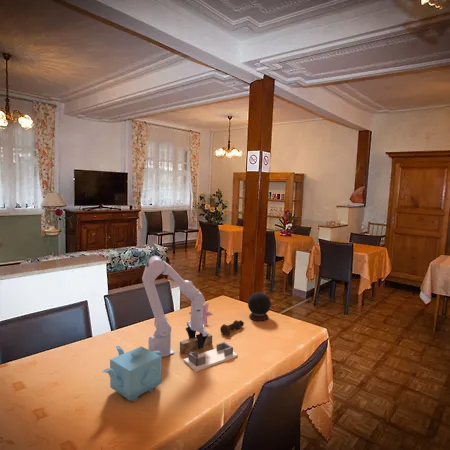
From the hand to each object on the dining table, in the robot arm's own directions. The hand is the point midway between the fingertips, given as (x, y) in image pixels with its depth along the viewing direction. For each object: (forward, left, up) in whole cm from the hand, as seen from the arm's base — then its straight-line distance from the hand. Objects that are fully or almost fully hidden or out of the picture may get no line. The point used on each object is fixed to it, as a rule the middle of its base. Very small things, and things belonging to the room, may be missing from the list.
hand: (196, 345), depth 161 cm
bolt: (+27, +5, -2) cm, 27 cm away
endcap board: (0, -12, -1) cm, 12 cm away
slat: (0, 0, -2) cm, 2 cm away
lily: (+19, +25, -2) cm, 31 cm away
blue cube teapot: (-37, -15, -2) cm, 40 cm away
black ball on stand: (+50, +11, -2) cm, 51 cm away
